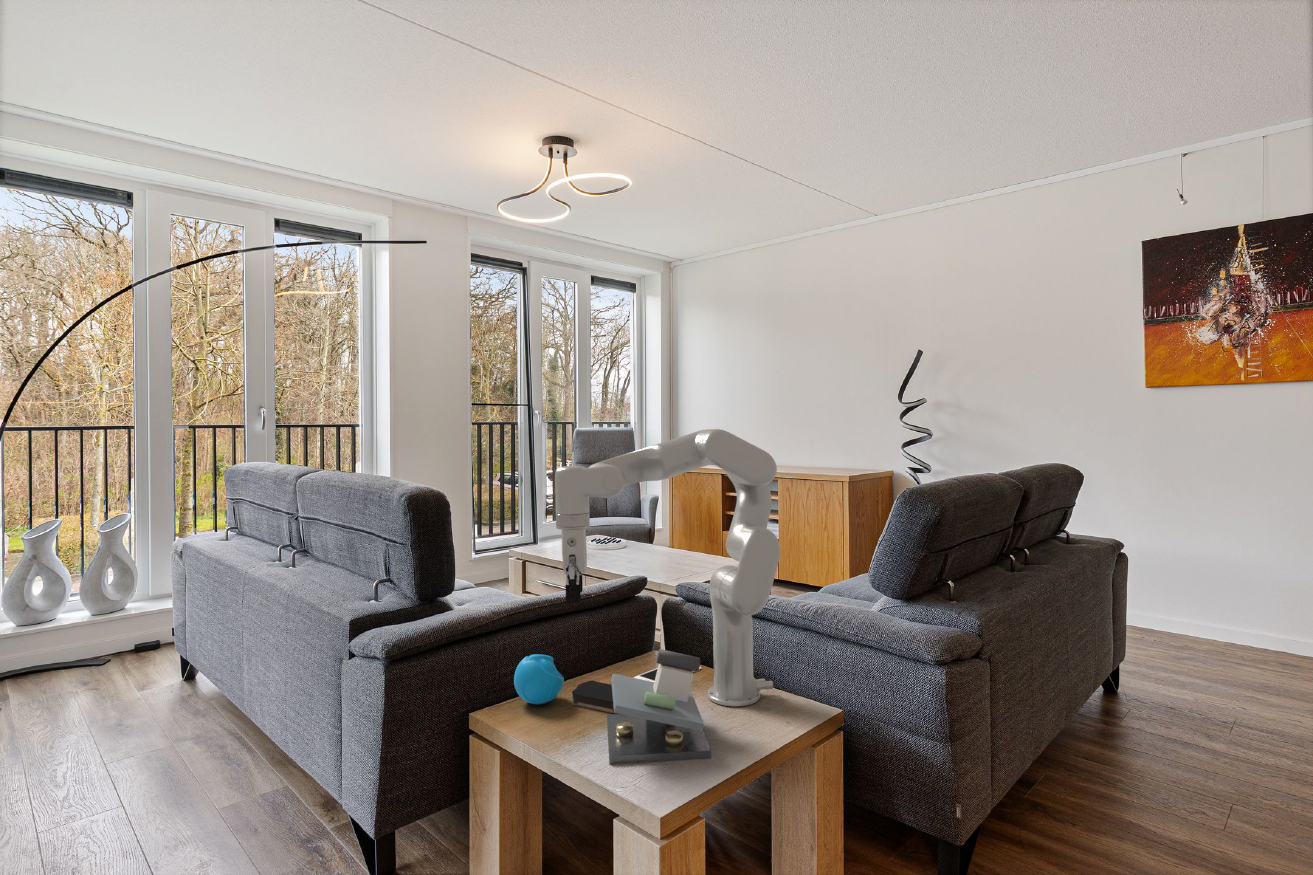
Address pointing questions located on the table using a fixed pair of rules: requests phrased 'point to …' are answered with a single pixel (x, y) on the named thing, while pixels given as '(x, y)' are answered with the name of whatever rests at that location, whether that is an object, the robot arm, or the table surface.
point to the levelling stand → (652, 741)
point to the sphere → (537, 679)
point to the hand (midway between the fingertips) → (574, 597)
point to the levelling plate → (637, 709)
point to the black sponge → (594, 696)
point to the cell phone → (650, 675)
